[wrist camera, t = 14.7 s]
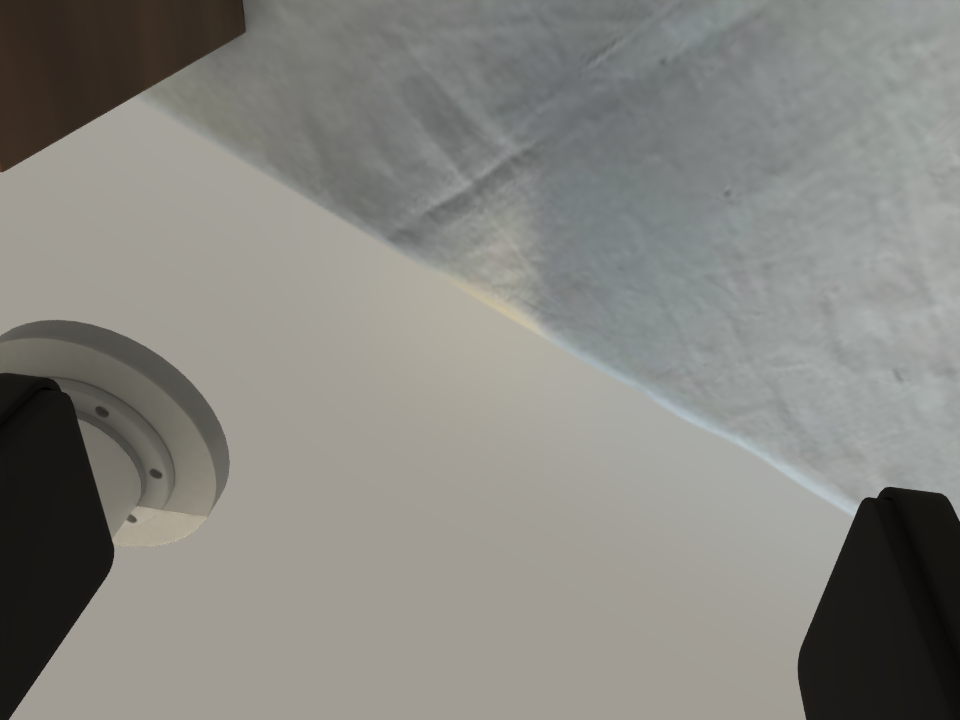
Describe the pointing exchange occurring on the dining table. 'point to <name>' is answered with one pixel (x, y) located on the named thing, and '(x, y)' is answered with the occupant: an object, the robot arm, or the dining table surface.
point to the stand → (94, 59)
